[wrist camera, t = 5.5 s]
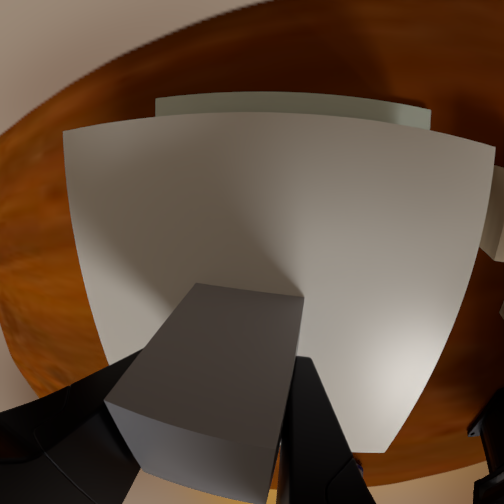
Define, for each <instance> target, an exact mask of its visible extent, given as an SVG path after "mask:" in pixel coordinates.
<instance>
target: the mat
mask: <svg viewBox="0 0 504 504" xmlns="http://www.w3.org/2000/svg"><path fill="white" fill-rule="evenodd" d="M223 112H275V113H299V114H315V115H328V116H339V117H348V118H357V119H365V120H373V121H380V122H386V123H393V124H399V125H405V126H410V127H416V128H421V129H426V130H430V119H431V110H429V109H424V108H420V107H415V106H410V105H404V104H399V103H393V102H387V101H380V100H374V99H366V98H359V97H350V96H340V95H330V94H317V93H299V92H222V93H205V94H192V95H181V96H171V97H163V98H156V102H155V117H159V116H170V115H183V114H199V113H223Z"/></svg>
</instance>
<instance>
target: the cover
mask: <svg viewBox="0 0 504 504" xmlns="http://www.w3.org/2000/svg"><path fill="white" fill-rule="evenodd" d="M63 144H64V160H65V172H66V182H67V191H68V199H69V206H70V213H71V220H72V226H73V232H74V237H75V243H76V248H77V253H78V258H79V262H80V267H81V271H82V276H83V280H84V284H85V288H86V292H87V296H88V300H89V303H90V307H91V310H92V314H93V317H94V321H95V324H96V327H97V330H98V334H99V337H100V340H101V343H102V346H103V349H104V352H105V355H106V357H107V360H108V363H109V365H111V364H113V363H115V362H117V361H119V360H121V359H123V358H125V357H127V356H129V355H131V354H133V353H135V352H137V351H138V350H140V349H142V348H143V350H142V351H141V352H140V354H139V355H138V356H137V357H136V359H135V360H134V361H133V363H132V364H131V365H130V366H129V368H128V369H127V370H126V372H125V373H124V374H123V375H122V377H121V378H120V379H119V381H118V382H117V383H116V385H115V386H114V387H113V389H112V390H111V391H110V392H109V394H108V395H107V396H106V398H105V399H104V402H105V404H106V406H107V408H108V410H109V412H110V414H111V416H112V418H113V420H114V421H115V423H116V425H117V427H118V429H119V431H120V433H121V434H122V436H123V438H124V440H125V442H126V443H127V445H128V447H129V448H130V450H131V452H132V454H133V455H134V457H135V459H136V460H137V462H138V463H139V465H140V467H141V468H142V470H143V471H144V472H146V473H148V474H151V475H154V476H156V477H159V478H162V479H164V480H167V481H170V482H173V483H176V484H179V485H182V486H186V487H188V488H192V489H195V490H199V491H202V492H206V493H210V494H213V495H217V496H221V497H225V498H229V499H234V500H239V501H243V502H248V503H253V504H266V501H267V497H268V493H269V490H270V486H271V482H272V478H273V473H274V469H275V465H276V461H277V456H278V452H279V448H280V445H281V437H282V431H283V426H284V420H285V414H286V408H287V402H288V395H289V390H290V385H291V380H292V375H293V370H294V365H295V359H296V356H305V357H310V358H311V359H312V360H313V363H314V365H315V367H316V370H317V372H318V374H319V377H320V379H321V381H322V384H323V386H324V388H325V391H326V393H327V395H328V398H329V400H330V402H331V405H332V407H333V409H334V412H335V414H336V416H337V419H338V421H339V423H340V426H341V428H342V431H343V433H344V435H345V438H346V440H347V442H348V445H349V447H350V449H351V452H367V453H384V452H385V451H386V450H387V448H388V447H389V445H390V444H391V442H392V441H393V439H394V438H395V436H396V435H397V433H398V432H399V430H400V428H401V427H402V425H403V424H404V422H405V420H406V419H407V417H408V415H409V414H410V412H411V410H412V409H413V407H414V405H415V403H416V402H417V400H418V398H419V396H420V395H421V393H422V391H423V389H424V387H425V385H426V383H427V381H428V379H429V377H430V376H431V374H432V372H433V369H434V367H435V365H436V363H437V361H438V359H439V357H440V355H441V353H442V350H443V348H444V346H445V344H446V341H447V339H448V337H449V334H450V332H451V329H452V327H453V324H454V322H455V319H456V317H457V314H458V312H459V309H460V306H461V303H462V301H463V298H464V295H465V292H466V289H467V286H468V283H469V280H470V276H471V273H472V270H473V266H474V263H475V259H476V256H477V252H478V248H479V244H480V240H481V236H482V232H483V227H484V223H485V218H486V213H487V208H488V202H489V196H490V190H491V184H492V176H493V168H494V159H495V148H496V147H493V146H490V145H486V144H483V143H480V142H476V141H472V140H469V139H465V138H461V137H457V136H453V135H448V134H444V133H440V132H435V131H431V130H426V129H421V128H416V127H410V126H405V125H399V124H393V123H386V122H380V121H373V120H365V119H357V118H348V117H339V116H328V115H315V114H299V113H275V112H223V113H199V114H183V115H170V116H159V117H150V118H141V119H133V120H125V121H118V122H112V123H105V124H99V125H93V126H88V127H83V128H77V129H72V130H68V131H63Z"/></svg>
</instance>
